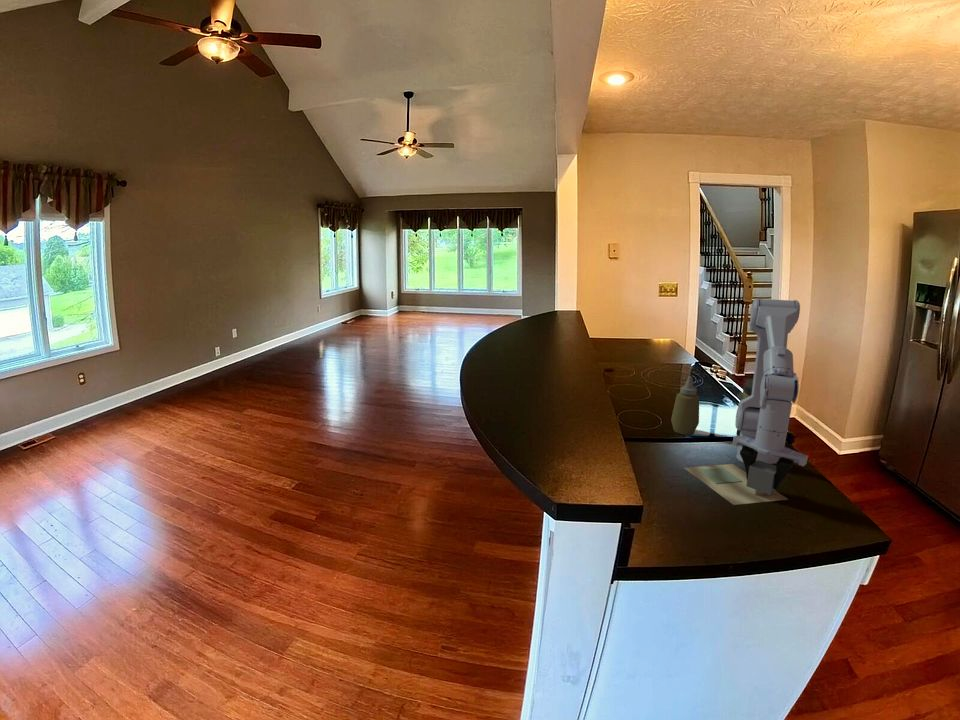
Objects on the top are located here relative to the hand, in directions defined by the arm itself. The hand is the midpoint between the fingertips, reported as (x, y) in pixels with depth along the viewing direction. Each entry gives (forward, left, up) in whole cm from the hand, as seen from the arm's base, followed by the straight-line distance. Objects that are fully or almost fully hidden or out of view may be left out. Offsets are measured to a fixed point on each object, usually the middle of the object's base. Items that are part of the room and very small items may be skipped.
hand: (762, 483), depth 108 cm
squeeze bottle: (-7, -40, -4) cm, 41 cm away
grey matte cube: (0, 0, -1) cm, 1 cm away
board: (+3, -5, -4) cm, 7 cm away
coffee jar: (-23, -30, -4) cm, 38 cm away
